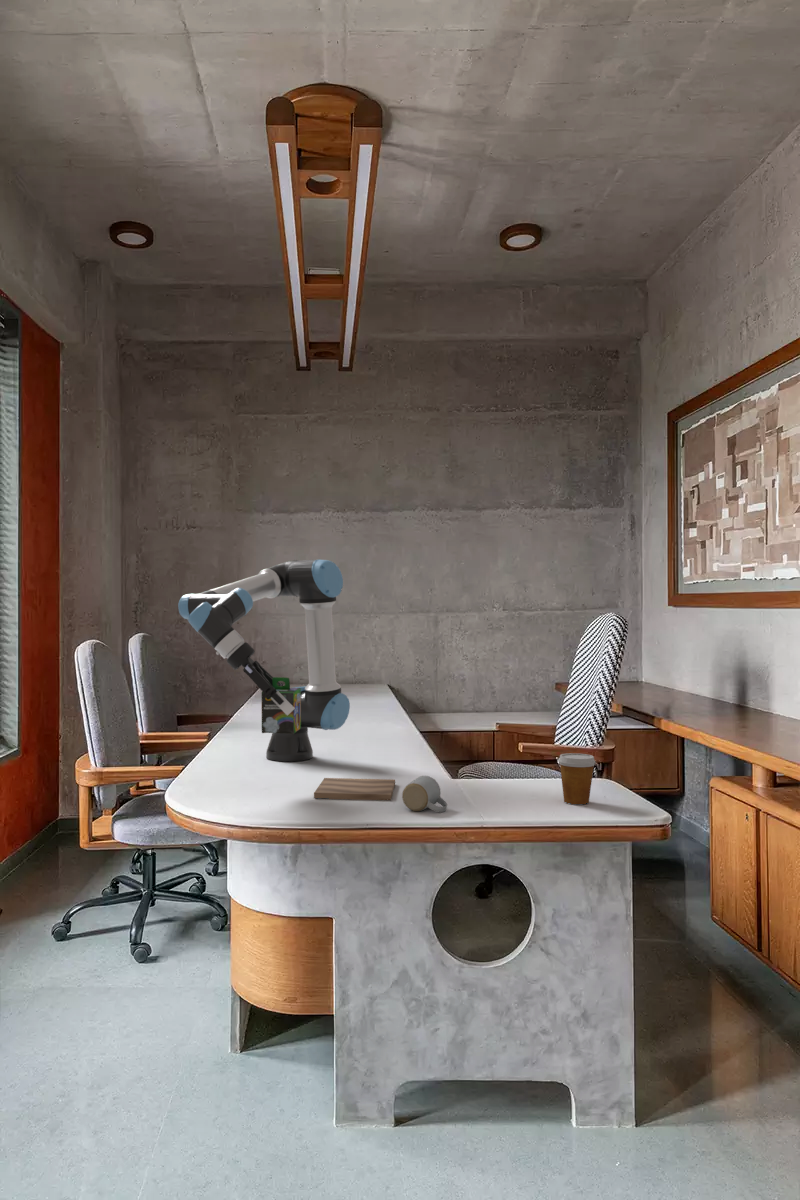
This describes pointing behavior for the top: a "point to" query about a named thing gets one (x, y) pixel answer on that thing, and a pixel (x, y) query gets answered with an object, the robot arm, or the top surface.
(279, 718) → the chalk box
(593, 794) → the top surface
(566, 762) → the disposable coffee cup
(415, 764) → the top surface
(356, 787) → the walnut board
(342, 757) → the top surface
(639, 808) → the top surface
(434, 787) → the ceramic mug
